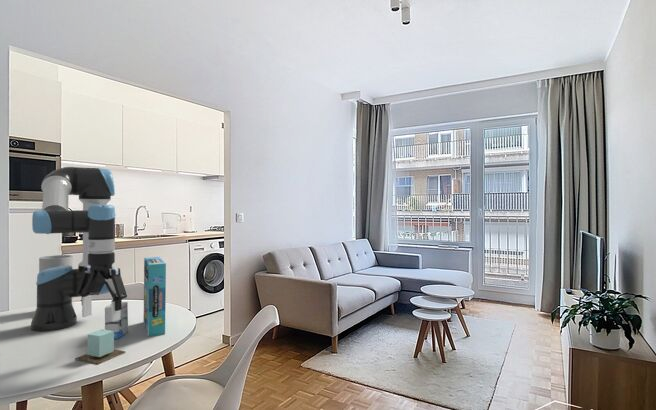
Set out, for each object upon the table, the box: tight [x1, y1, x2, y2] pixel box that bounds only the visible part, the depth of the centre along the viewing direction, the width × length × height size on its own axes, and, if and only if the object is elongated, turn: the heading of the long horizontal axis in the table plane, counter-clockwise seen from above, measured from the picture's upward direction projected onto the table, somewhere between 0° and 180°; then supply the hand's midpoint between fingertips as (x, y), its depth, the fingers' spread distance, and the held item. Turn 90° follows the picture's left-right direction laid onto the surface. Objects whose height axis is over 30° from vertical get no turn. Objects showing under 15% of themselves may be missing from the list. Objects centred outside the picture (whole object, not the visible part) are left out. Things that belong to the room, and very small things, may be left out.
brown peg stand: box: [74, 349, 127, 365], centre depth 123 cm, size 10×10×7 cm
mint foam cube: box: [87, 329, 115, 357], centre depth 123 cm, size 5×5×7 cm
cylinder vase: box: [38, 254, 74, 273], centre depth 174 cm, size 12×12×25 cm
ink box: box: [104, 301, 129, 340], centre depth 142 cm, size 9×5×12 cm, turn 5°
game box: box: [143, 256, 167, 337], centre depth 151 cm, size 20×6×27 cm, turn 30°
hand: (101, 318), depth 123 cm, fingers open, 12 cm apart
